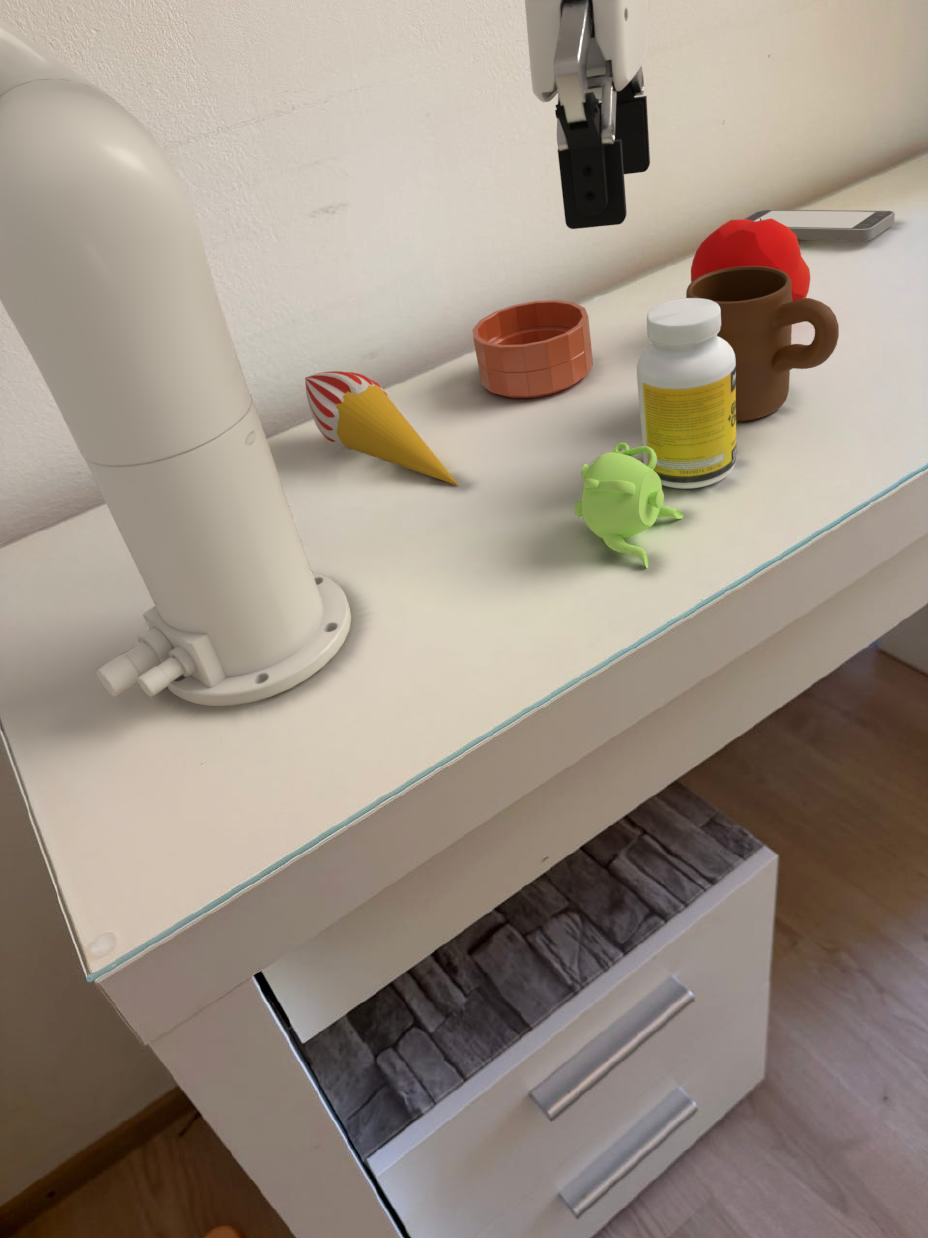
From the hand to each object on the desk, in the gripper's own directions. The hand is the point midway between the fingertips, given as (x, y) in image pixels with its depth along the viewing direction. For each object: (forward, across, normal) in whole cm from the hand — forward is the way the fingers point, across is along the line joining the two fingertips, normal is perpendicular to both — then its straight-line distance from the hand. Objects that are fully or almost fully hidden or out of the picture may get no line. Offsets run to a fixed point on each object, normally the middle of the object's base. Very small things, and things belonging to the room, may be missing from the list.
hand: (610, 197), depth 54 cm
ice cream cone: (+20, -6, -22) cm, 30 cm away
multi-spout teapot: (+20, +5, 0) cm, 21 cm away
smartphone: (+19, -49, +19) cm, 56 cm away
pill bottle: (+20, -4, +4) cm, 21 cm away
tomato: (+17, -25, +4) cm, 30 cm away
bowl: (+20, -20, -12) cm, 31 cm away
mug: (+20, -12, +8) cm, 25 cm away
